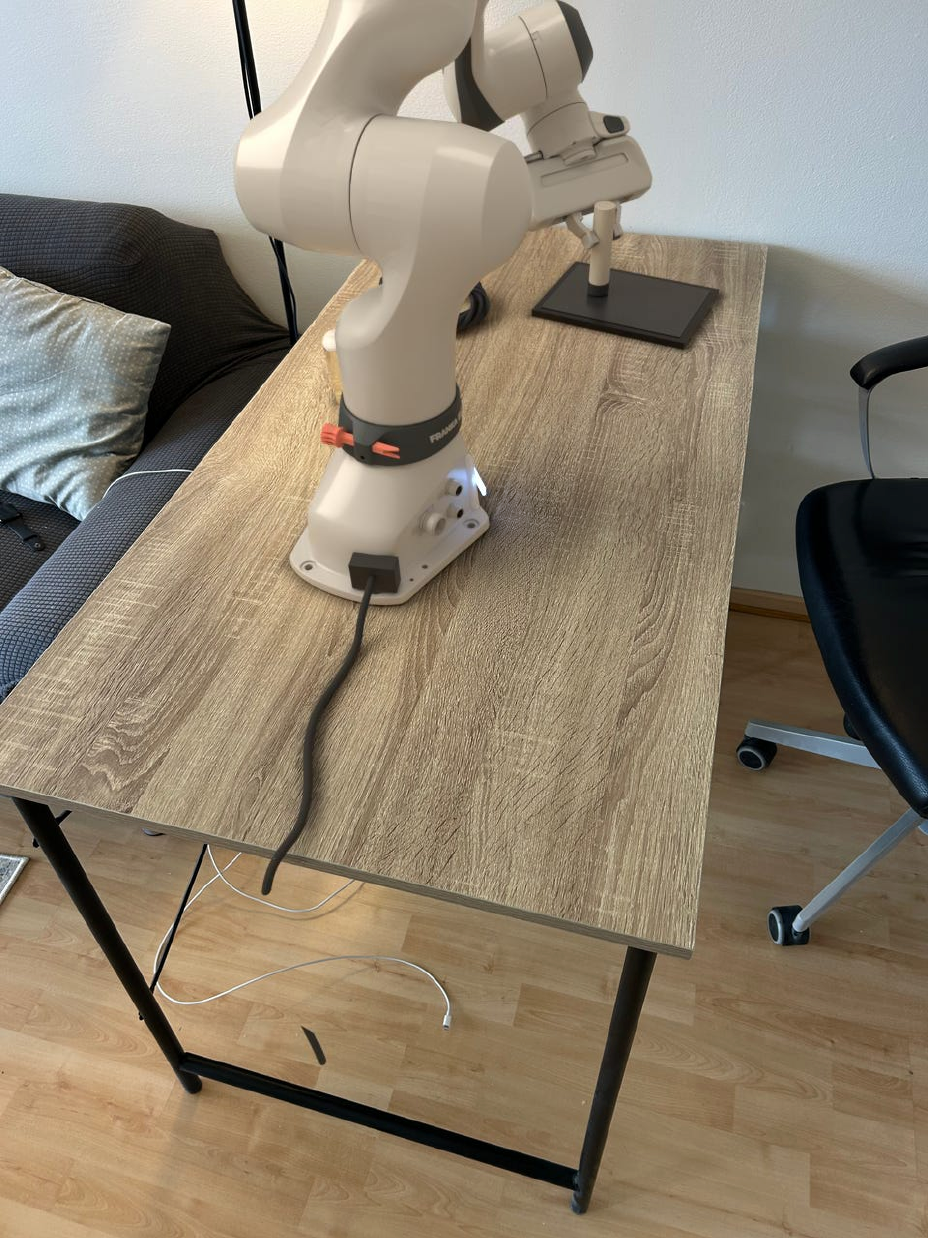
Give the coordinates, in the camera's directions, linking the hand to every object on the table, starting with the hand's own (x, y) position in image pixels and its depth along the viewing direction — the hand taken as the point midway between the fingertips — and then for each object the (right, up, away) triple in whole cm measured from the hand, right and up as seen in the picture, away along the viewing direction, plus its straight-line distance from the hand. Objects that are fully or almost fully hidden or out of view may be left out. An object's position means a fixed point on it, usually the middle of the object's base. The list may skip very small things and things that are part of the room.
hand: (605, 242), depth 121 cm
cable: (-24, -9, +5) cm, 26 cm away
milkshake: (-33, -23, -8) cm, 41 cm away
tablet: (+4, -7, +5) cm, 9 cm away
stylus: (0, -4, +6) cm, 7 cm away
